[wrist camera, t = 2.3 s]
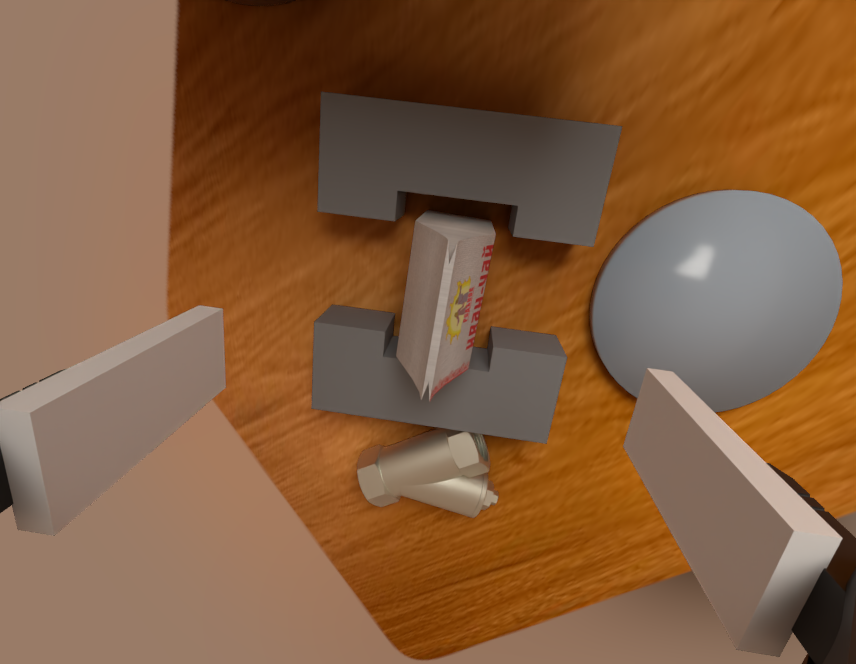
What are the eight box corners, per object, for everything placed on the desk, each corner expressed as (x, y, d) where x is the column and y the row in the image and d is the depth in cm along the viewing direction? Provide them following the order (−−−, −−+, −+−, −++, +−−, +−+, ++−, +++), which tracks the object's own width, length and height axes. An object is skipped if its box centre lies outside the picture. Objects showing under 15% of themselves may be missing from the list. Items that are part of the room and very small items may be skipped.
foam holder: (341, 101, 25) (321, 91, 21) (601, 132, 24) (622, 126, 21) (328, 382, 31) (311, 408, 27) (538, 413, 30) (546, 443, 27)
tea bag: (411, 319, 29) (380, 393, 19) (427, 209, 26) (402, 232, 17) (469, 329, 28) (467, 409, 19) (490, 220, 26) (501, 249, 17)
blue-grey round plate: (620, 175, 25) (626, 175, 24) (870, 205, 24) (886, 206, 23) (568, 389, 29) (571, 396, 28) (777, 419, 28) (787, 428, 28)
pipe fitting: (506, 477, 33) (468, 403, 30) (512, 520, 29) (469, 439, 27) (406, 509, 34) (363, 442, 32) (400, 553, 31) (351, 481, 28)
